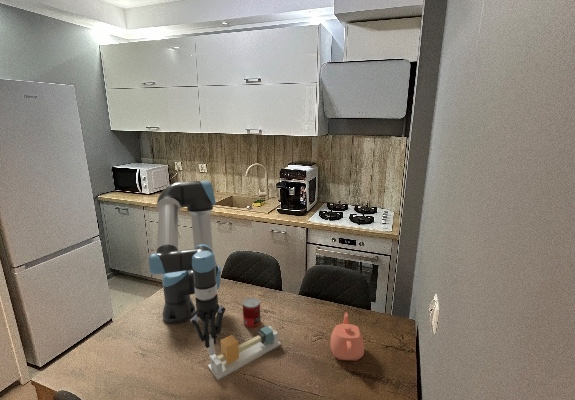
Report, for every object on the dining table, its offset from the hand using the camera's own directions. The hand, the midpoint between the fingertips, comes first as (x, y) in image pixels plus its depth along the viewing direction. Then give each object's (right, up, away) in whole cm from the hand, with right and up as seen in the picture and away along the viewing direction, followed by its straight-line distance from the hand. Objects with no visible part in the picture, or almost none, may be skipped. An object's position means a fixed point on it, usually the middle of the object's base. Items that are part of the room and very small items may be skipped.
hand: (211, 352), depth 114 cm
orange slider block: (+6, -5, +6) cm, 10 cm away
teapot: (+52, -6, +13) cm, 54 cm away
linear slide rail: (+11, -7, +11) cm, 17 cm away
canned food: (+11, -2, +31) cm, 33 cm away
